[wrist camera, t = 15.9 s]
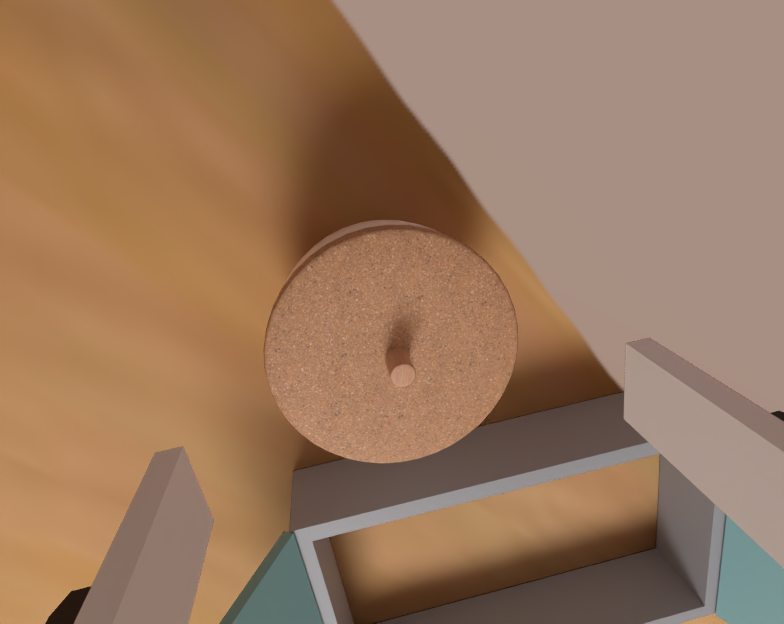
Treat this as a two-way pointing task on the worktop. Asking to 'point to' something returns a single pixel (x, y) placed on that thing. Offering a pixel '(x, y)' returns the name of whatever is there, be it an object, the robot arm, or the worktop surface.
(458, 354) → the lidded jar
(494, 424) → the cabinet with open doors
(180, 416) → the worktop surface
